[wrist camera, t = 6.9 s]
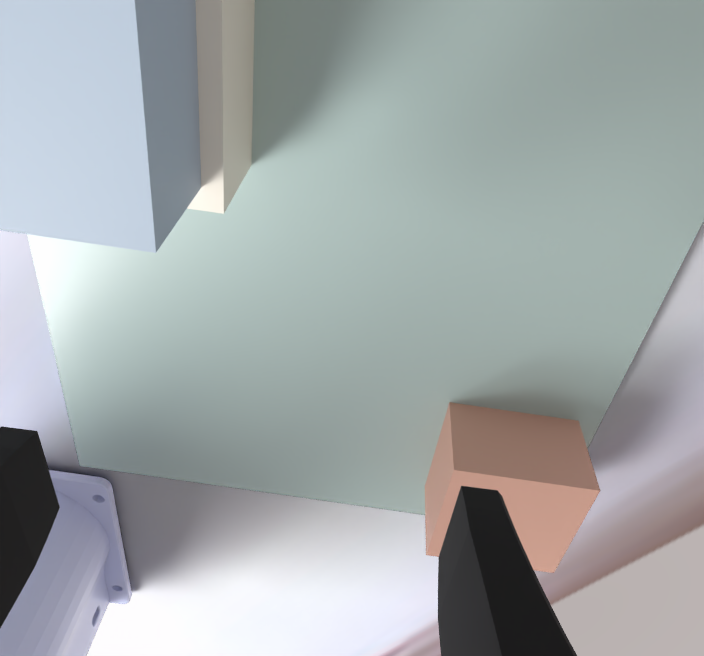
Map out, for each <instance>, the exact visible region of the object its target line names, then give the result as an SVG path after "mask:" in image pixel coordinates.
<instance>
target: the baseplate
mask: <svg viewBox="0 0 704 656" xmlns="http://www.w3.org/2000/svg"><path fill="white" fill-rule="evenodd" d="M703 222H704V0H255V15H254V66H253V117H252V165H251V167H250V169H249V170H248V172H247V174H246V176H245V177H244V179H243V181H242V183H241V184H240V186H239V188H238V190H237V191H236V193H235V195H234V197H233V199H232V200H231V202H230V204H229V206H228V207H227V209H226V211H225V213H224V214H222V213H215V212H208V211H201V210H194V209H186V210H185V212H184V213H183V215H182V216H181V218H180V219H179V220H178V222H177V223H176V225H175V226H174V228H173V229H172V231H171V232H170V233H169V235H168V236H167V238H166V239H165V241H164V242H163V244H162V245H161V246H160V248H159V249H158V251H157V252H156V253H153V252H146V251H139V250H132V249H125V248H118V247H112V246H105V245H98V244H91V243H84V242H77V241H70V240H63V239H56V238H49V237H43V236H36V235H29V234H27V236H28V240H29V245H30V249H31V253H32V258H33V262H34V267H35V271H36V276H37V280H38V284H39V289H40V293H41V298H42V302H43V306H44V311H45V315H46V320H47V324H48V328H49V333H50V337H51V342H52V346H53V351H54V355H55V359H56V364H57V368H58V373H59V377H60V381H61V386H62V390H63V395H64V399H65V403H66V408H67V412H68V417H69V421H70V426H71V430H72V434H73V439H74V443H75V448H76V452H77V456H78V461H79V465H80V466H83V467H90V468H97V469H104V470H111V471H118V472H125V473H132V474H139V475H146V476H153V477H160V478H167V479H174V480H181V481H188V482H196V483H203V484H210V485H217V486H224V487H231V488H238V489H245V490H252V491H259V492H266V493H273V494H280V495H287V496H294V497H301V498H308V499H316V500H323V501H330V502H337V503H344V504H351V505H358V506H365V507H372V508H379V509H386V510H393V511H400V512H407V513H414V514H421V515H425V484H426V480H427V477H428V473H429V470H430V467H431V463H432V460H433V456H434V453H435V449H436V446H437V443H438V439H439V436H440V432H441V429H442V425H443V422H444V419H445V415H446V412H447V408H448V405H449V402H451V403H458V404H465V405H472V406H479V407H486V408H493V409H500V410H507V411H514V412H521V413H528V414H535V415H542V416H550V417H557V418H564V419H571V420H578V421H579V423H580V427H581V430H582V433H583V436H584V440H585V443H586V446H587V449H588V447H589V445H590V443H591V441H592V439H593V437H594V435H595V433H596V431H597V429H598V427H599V425H600V423H601V421H602V419H603V417H604V415H605V413H606V411H607V409H608V408H609V406H610V404H611V402H612V400H613V398H614V396H615V394H616V392H617V390H618V388H619V386H620V384H621V382H622V380H623V378H624V376H625V374H626V372H627V370H628V368H629V366H630V364H631V363H632V361H633V359H634V357H635V355H636V353H637V351H638V349H639V347H640V345H641V343H642V341H643V339H644V337H645V335H646V333H647V331H648V329H649V327H650V325H651V323H652V321H653V319H654V317H655V316H656V314H657V312H658V310H659V308H660V306H661V304H662V302H663V300H664V298H665V296H666V294H667V292H668V290H669V288H670V286H671V284H672V282H673V280H674V278H675V276H676V274H677V272H678V271H679V269H680V267H681V265H682V263H683V261H684V259H685V257H686V255H687V253H688V251H689V249H690V247H691V245H692V243H693V241H694V239H695V237H696V235H697V233H698V231H699V229H700V227H701V225H702V224H703Z"/></svg>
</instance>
